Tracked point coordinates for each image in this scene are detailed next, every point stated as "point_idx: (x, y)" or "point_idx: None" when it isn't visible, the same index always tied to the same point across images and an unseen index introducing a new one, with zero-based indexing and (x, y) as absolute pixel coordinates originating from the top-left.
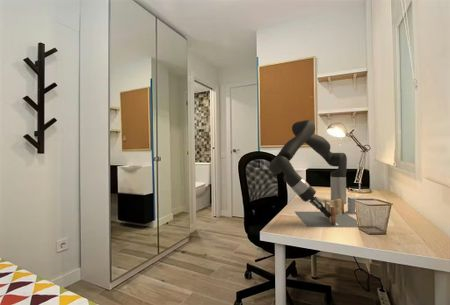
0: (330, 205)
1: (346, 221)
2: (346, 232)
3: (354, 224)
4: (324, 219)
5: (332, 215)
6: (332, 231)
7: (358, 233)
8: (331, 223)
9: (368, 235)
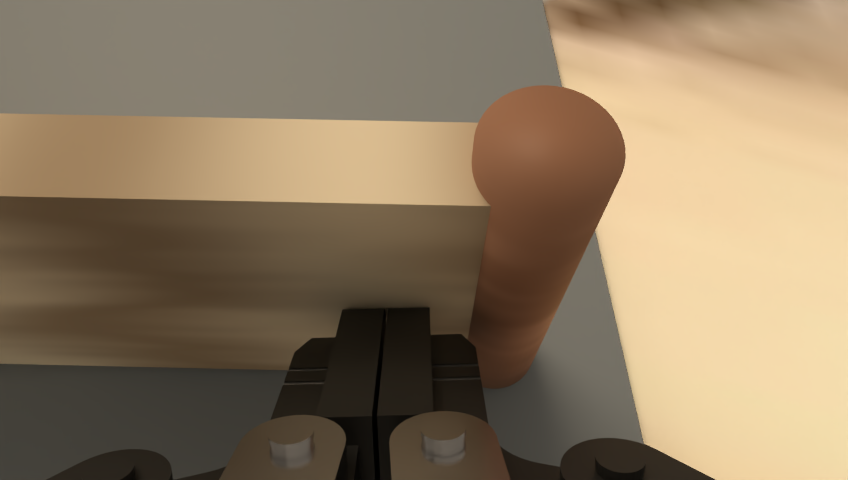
0: (169, 164)
1: (242, 76)
2: (806, 240)
3: (400, 15)
4: (100, 444)
5: (558, 304)
6: (842, 472)
7: (789, 90)
8: (498, 385)
9: (830, 3)
